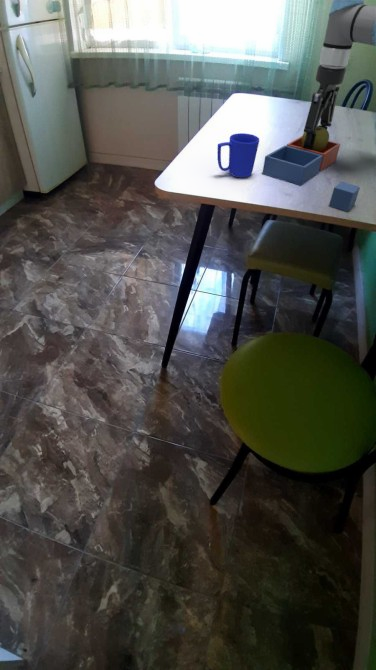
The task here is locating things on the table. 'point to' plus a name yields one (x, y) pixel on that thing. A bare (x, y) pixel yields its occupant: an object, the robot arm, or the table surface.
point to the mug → (240, 154)
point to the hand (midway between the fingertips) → (312, 151)
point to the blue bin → (292, 164)
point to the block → (344, 196)
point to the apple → (318, 139)
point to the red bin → (328, 152)
